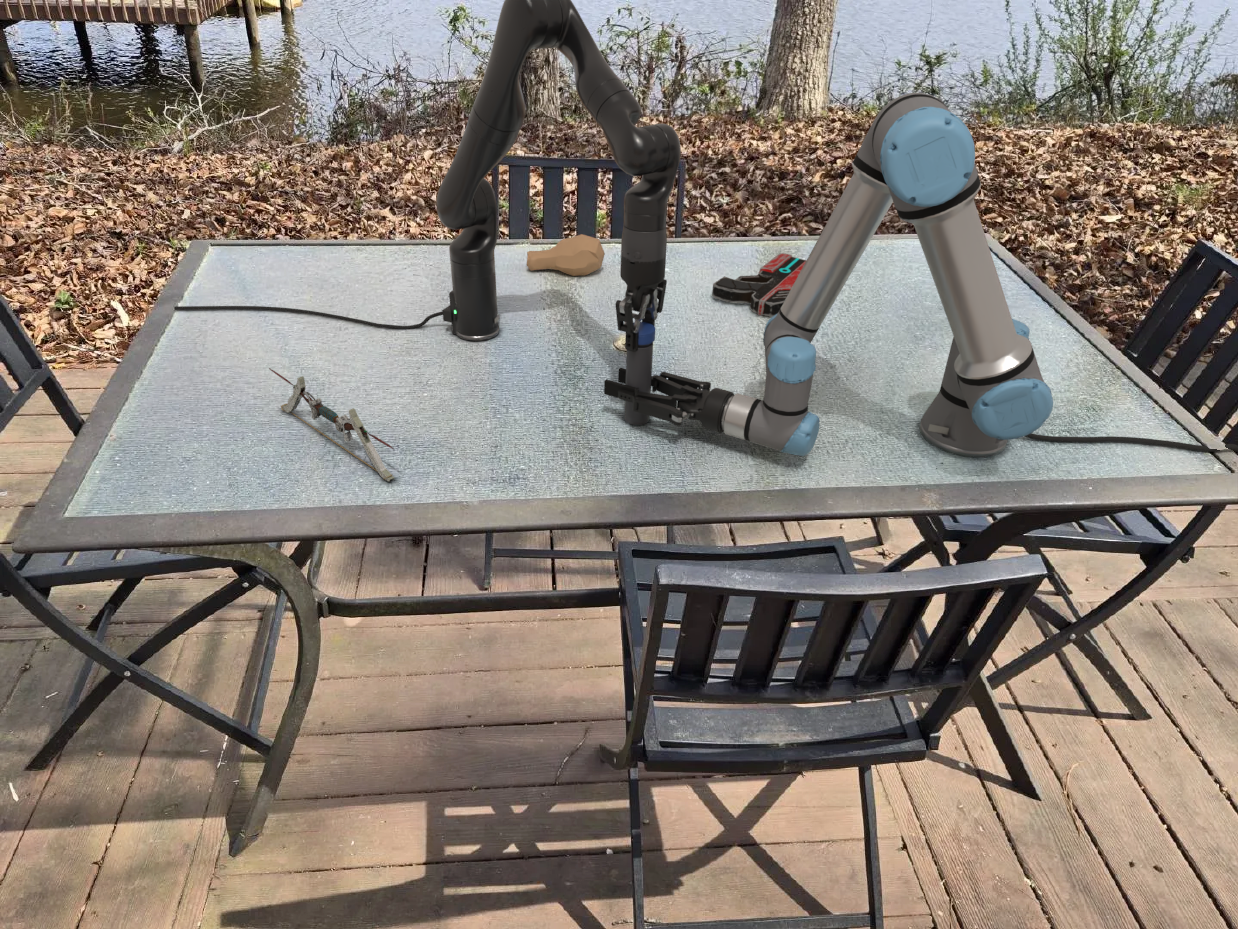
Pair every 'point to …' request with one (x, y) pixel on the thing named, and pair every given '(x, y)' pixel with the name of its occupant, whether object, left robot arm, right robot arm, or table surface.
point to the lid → (646, 333)
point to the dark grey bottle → (638, 379)
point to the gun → (762, 285)
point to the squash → (569, 256)
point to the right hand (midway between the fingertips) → (612, 380)
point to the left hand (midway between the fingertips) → (639, 344)
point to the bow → (337, 424)
